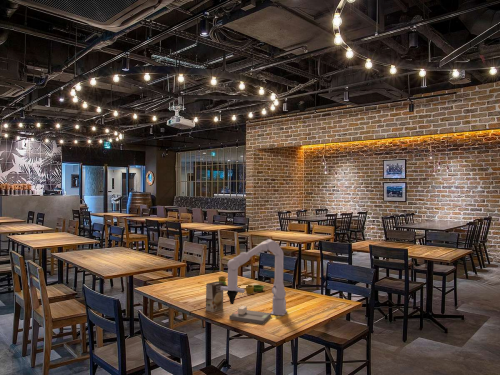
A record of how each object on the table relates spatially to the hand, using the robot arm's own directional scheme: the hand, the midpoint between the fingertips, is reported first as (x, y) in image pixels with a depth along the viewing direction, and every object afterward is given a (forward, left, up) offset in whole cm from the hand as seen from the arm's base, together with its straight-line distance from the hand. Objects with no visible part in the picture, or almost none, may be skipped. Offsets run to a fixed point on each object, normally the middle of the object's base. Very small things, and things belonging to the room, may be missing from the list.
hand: (232, 303), depth 227 cm
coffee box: (-6, -14, -7) cm, 17 cm away
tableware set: (-59, -24, -8) cm, 64 cm away
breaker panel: (0, +12, -7) cm, 13 cm away
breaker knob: (0, +7, -5) cm, 8 cm away
